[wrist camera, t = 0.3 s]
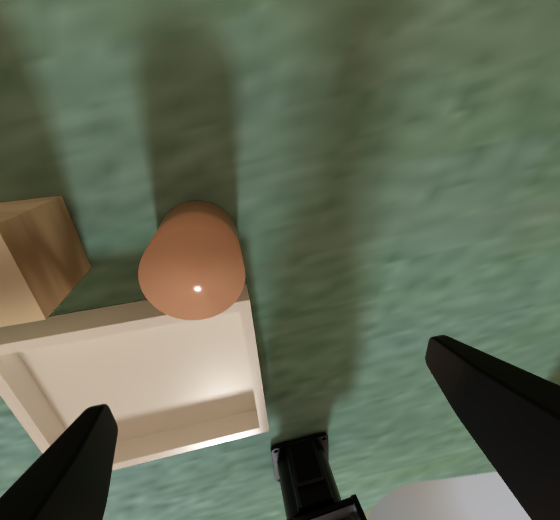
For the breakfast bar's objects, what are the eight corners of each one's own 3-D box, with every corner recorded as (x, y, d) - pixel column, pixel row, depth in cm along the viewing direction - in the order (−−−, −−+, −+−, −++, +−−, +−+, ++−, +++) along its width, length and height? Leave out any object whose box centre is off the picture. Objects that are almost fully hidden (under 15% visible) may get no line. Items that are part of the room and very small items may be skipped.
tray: (265, 407, 29) (269, 431, 27) (76, 452, 26) (63, 482, 24) (246, 282, 23) (249, 299, 20) (-5, 325, 20) (-33, 350, 18)
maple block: (91, 267, 20) (45, 319, 14) (10, 279, 19) (-69, 339, 14) (62, 195, 18) (-5, 225, 12) (-31, 205, 17) (-145, 242, 12)
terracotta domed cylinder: (242, 265, 22) (251, 310, 17) (169, 277, 21) (154, 328, 16) (231, 195, 20) (237, 221, 14) (149, 206, 19) (123, 237, 14)
